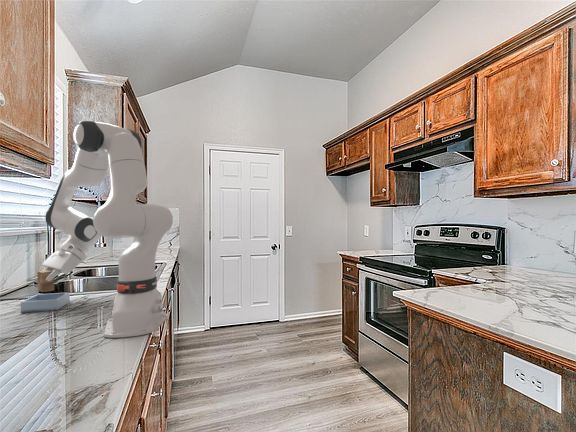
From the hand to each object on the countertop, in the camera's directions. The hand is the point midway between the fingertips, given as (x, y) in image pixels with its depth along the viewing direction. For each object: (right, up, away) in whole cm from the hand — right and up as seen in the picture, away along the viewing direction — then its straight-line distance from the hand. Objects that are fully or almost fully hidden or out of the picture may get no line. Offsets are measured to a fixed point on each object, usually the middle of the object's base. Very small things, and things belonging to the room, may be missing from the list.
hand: (43, 279), depth 127 cm
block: (0, -4, +1) cm, 4 cm away
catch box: (+1, -11, +1) cm, 11 cm away
